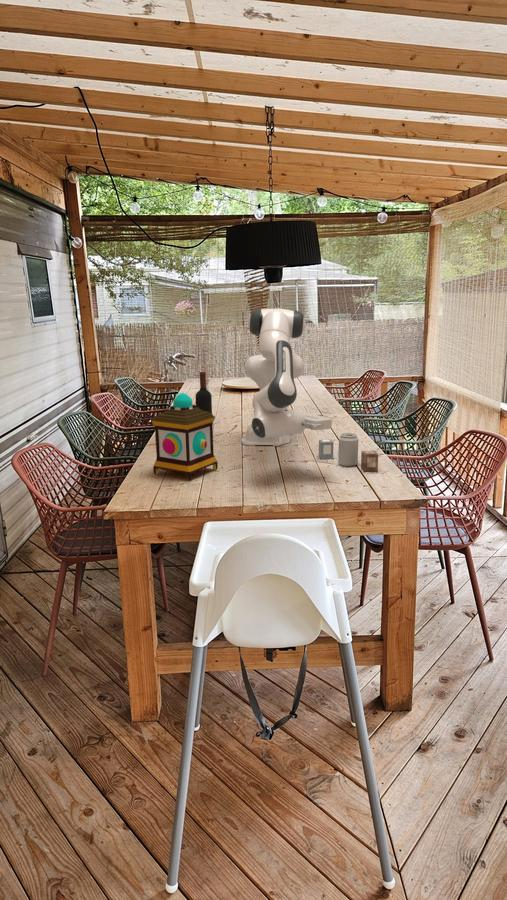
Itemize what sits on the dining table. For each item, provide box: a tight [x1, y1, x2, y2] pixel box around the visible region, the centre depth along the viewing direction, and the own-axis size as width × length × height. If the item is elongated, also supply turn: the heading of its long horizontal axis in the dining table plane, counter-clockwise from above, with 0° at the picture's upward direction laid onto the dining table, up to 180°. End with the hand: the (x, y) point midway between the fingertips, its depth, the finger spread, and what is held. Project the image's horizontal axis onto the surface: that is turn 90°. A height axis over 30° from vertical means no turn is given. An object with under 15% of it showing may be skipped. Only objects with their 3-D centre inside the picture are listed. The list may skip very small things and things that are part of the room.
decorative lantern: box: [151, 392, 219, 482], centre depth 215 cm, size 20×20×30 cm
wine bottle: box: [195, 371, 213, 414], centre depth 275 cm, size 8×8×30 cm
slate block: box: [318, 438, 334, 460], centre depth 234 cm, size 5×5×7 cm
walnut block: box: [360, 450, 379, 474], centre depth 216 cm, size 5×5×7 cm
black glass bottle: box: [203, 365, 221, 425], centre depth 304 cm, size 13×13×30 cm
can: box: [337, 432, 359, 468], centre depth 223 cm, size 8×8×12 cm
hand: (324, 417), depth 213 cm, fingers closed
